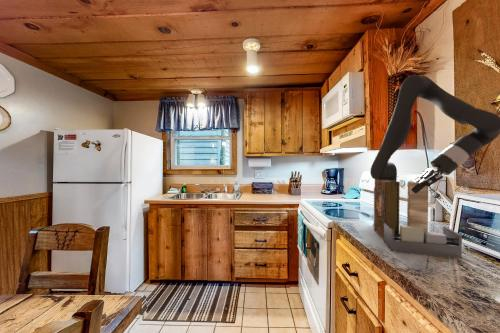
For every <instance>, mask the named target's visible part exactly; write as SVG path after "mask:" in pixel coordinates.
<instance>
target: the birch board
mask: <svg viewBox="0 0 500 333" xmlns="http://www.w3.org/2000/svg"><path fill="white" fill-rule="evenodd" d="M418 183H419V182H415V181H407V210H406V211H407V212H406V213H407V215H406V220H407V221H406V224H407V225H406V226H414V227H422V228H423V229H424V233H429V230H428V227H429V225H428V224H429V187H428V186H427V187H424V188H422V189H421V190H420V191H419V192H418V193H414V192H413V191H412V190H411V189H412V188H413V187H414V186H416V185H417V184H418Z"/></svg>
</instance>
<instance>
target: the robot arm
mask: <svg viewBox="0 0 500 333" xmlns="http://www.w3.org/2000/svg"><path fill="white" fill-rule="evenodd" d="M417 98H421V99H423V100H426V101H428V102H430V103H431V104H433V105H435V106H436V107H437V108H438V110H440V111H441V112H442V113H443V114H444V115H446V117H449V118H450V119H451V120H453V121H454V122H455V121H456V123H458V124H461V125H470V126H473V127H474V129H473V130H472V131H471V132H470V133H468V134H465V135H462V136H461V137H458V139H456V140H455V141H454V142H453V143H452V144H451V145H449V146H448V147H446V148H445V149H444V150H442V151H441V152H440V153H438V155H437V156H435V157H434V158H433V159H432V160H430V165H431V166H432V167H430V168H426V170H423V171H421V172H420V174H418V176H416V178H414V182H419V183H418V184H417V185H416V186H414V187H413V188H412V189H411V190H412V191H413V192H414V193H418V192H419V191H420V190H421V189H422V188H424V187H427V186H428V188H430V187H431V186H432V185H433V184H436V183H437V182H439V181H440V180H442V179H443V178H444V176H443V175H445V176H449V175H450V174H452V173H453V172H454V171H456V170H457V169H458V168H459V167H461V166H462V165H463V164H465V162H467V160H468V159H469V158H470V157H472V156H473V155H474V154H475V153H476V152H478V151H479V150H480V149H481V148H483V147H486V146H487V145H488V144H490V143H491V142H493V141H494V140H495V139H497V137H499V135H500V116H499V115H497V114H496V113H495V112H494V113H493V112H490V111H489V110H488V111H487V110H484V109H482V108H477V107H475V106H473V105H472V104H470V103H468V102H466V101H464V100H462V99H460V98H459V97H456V96H454V95H453V94H451V93H449V92H447V90H444V88H442V87H440V86H439V85H438V84H437V83H435V82H434V81H433V80H432V79H431V78H429V77H428V76H427V75H419V74H412V75H409V76H407V77H406V78H405V79H404V80H403V82H402V83H401V85H400V88H399V92H398V96H397V100H396V104H395V107H394V110H393V113H392V115H391V119H390V121H389V124H388V126H387V129H386V132H385V134H384V138H383V140H382V143H381V146H380V148H379V150H378V152H377V154H376V156H375V158H374V160H373V162H372V164H371V167H370V177H371V178H372V179H374V180H375V179H388V180H393V181H397V178H398V170H397V165H395V163H393V162H390V159H391V157H392V156H393V155H394V153H396V151H398V150H399V149H400V148H401V147H402V146H403V145H404V144H405V143H406V141H407V139H408V137H409V134H410V131H411V129H412V110H413V107H414V105H415V102H416V101H417ZM374 203H375V186H374V188H373V204H374Z"/></svg>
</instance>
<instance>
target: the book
mask: <svg viewBox="0 0 500 333" xmlns="http://www.w3.org/2000/svg"><path fill="white" fill-rule="evenodd" d="M400 185H401V184H400V182H399V181H397V180H396V181H393V180H388V179H374V187H375V203H374V202H373V231H374V232H375V233H376V234H377V235H378V236H379V237H380V238H381V239H383V240H384V223H387V224H388V225H389V226H390V227H391V228H392V229H393V230H394V233H400V192H401V191H400V190H401V189H400Z"/></svg>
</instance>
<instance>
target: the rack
mask: <svg viewBox="0 0 500 333" xmlns="http://www.w3.org/2000/svg"><path fill="white" fill-rule="evenodd" d="M442 230H443V231H442V234H444V235H446V244H435V243H422V242H410V241H400V232H399V233H394V230H393V229H392V228H391V227H390V226H389V225H388V224H387V223H384V239H383V242H384V244H385V245H386V247H387V248H388V249H389V250H390V252H392V251H396V252H395V253H401V252H403V253H402V254H412V253H413V254H414V255H425V256H433V257H434V256H435V257H444V258H457V259H462V257H463V256H462V254H463V248H462V247H463V235H462V234H460V233H458V232H456V231H455V230H453V229H451V228H449V227H447V226H443V228H442Z"/></svg>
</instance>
